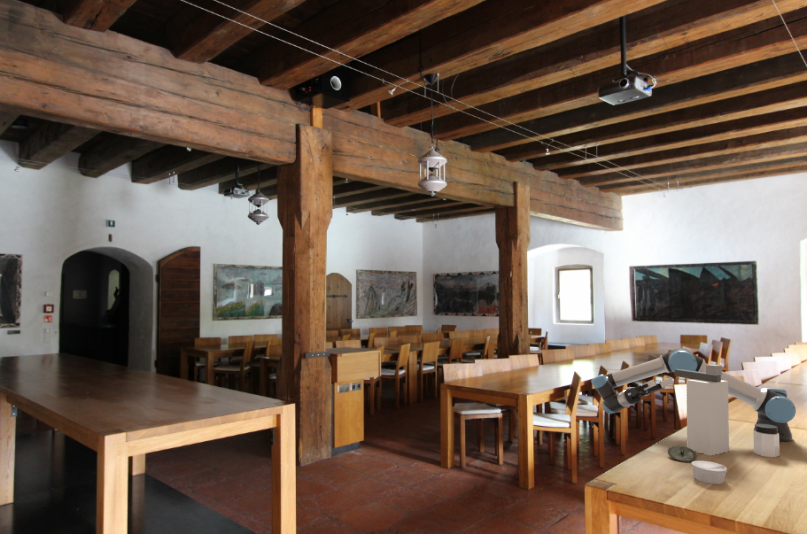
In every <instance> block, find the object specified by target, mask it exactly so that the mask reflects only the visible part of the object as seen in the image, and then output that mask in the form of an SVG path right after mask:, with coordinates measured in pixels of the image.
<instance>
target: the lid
mask: <svg viewBox="0 0 807 534" xmlns="http://www.w3.org/2000/svg"><path fill="white" fill-rule="evenodd" d="M667 455H668V456H669V457H670V458H671V459H673V460H675V461H677V460H678V461H677V462H681V461H683V462H682V463H690V462H691V463H692V462H693V461H696V459H697V457H698V454H697V452H695V451H693V450H692V449H690V448H688V447H687V446H684V445H673V446H670V447H669V448H668V449H667Z"/></svg>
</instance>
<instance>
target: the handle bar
mask: <svg viewBox="0 0 807 534" xmlns="http://www.w3.org/2000/svg"><path fill="white" fill-rule="evenodd" d="M722 371H723V365H720V364H714V363H711V364H708V365H706V373H703V372H696V371H689V370H682V369H675V373H674V377H677V378H685V379H689V378H690V379H697V380H703V381H710V382H716V383H717V382H721V375H722ZM690 379H689V380H690Z"/></svg>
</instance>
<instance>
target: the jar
mask: <svg viewBox="0 0 807 534" xmlns="http://www.w3.org/2000/svg"><path fill="white" fill-rule="evenodd" d="M754 427H755V431H754V430H753V453H754V454H756V455H758V456H762V457H767V458H773V457H775V458H777V456H778V457H780V441H779V433H778V427H776V426H774V425H769V424H756V423H755V424H754Z"/></svg>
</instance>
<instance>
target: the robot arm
mask: <svg viewBox="0 0 807 534" xmlns="http://www.w3.org/2000/svg"><path fill="white" fill-rule="evenodd" d="M706 365H709V364H707V363H706V360H705V359H704V358H702V357H700V356H698V355H696V354H694V353H692V352H691V351H689V350H687V349H685V348H682V347H680V348H674V349H672V350H670V351H669V352H665V353H664V354H660V356H659V357H657V358H655V359H652V360H648V361H646V362H643V363H638V364H635V365H633V366H630V367H627V368H623V369H620V370H618V371H617V370H616V371H615V372H612V373H608V374H603V373H602V374H601V373H600V374H599V375H597V376H596V377H594V378H592V379H591V381H590V382H591V384H592V386H593V388H594V389H595V390H596V392H597V393H598V394H599V395H600V397H601V399H602V400H603V401H602V402H601V403H602V404H601V405H602V408H603V411H605V412H606V413H607V414H610V415H612V414H615V413H618V412H620V411H622V410H624V409H625V408H630V406H633V405H635V404H637V403H639V402H640V401H641V400H642V399H641V398H642V397H645V396H648V395H650V394H652V393H655V392H658V391H661V390H663V389H665V388H666V387H668V386H671V385H672V384H674V383H675V382H674V380H673V378H672V377H668V378H667V379H664V380H662V381H661V380H660V381H659V383H656V382H655V379H651V380H648V381H647V382H645V383H642V384H640V385H635V386H634V387H629V388H627V389H625V390H622V391H621V392H618V393H617V391H616V390H615V389H616V388H618V387H621V386H624V385H628V384H630V383H634V382H637V381H640V380H644V379H647V378H650V377H654V376H657V375H659V374H663V373H664V374H665V373H668V374H669V373H670V374H671V373H674V374H675V369H682V370H689V371H696V372H703V373H706ZM688 380H690V378H688ZM721 380H724V381H728V396H732V397H734V398H736V399H738V400H739V401H742V402H743V403H746V404H748V405H750V406H751V407H752V409H753V411H755V412H756V413H757V419H756V423H755V424H769V425H774V426H776V427H778V433H779V442H789V441H790V440H791V441H792V440H793V434H792V433H793V432H791V428H790V425H789V422H790V421H792V420H793V419H794V418H795V416H796V413H797V409H796V406H795V404H794V402H793V400H791V399H790V398H788V392H787V390H786V389H782V388H771V387H770V388H769V387H757V386H755V385H753V384H751V383H748V382H747V381H744V380H743V379H740V378H738V377H736V376H733V375H731V374H730V373H727V372H725V371H723V370H722V375H721ZM614 388H615V389H614ZM754 431H755V426H754V427H753V432H754Z"/></svg>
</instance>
